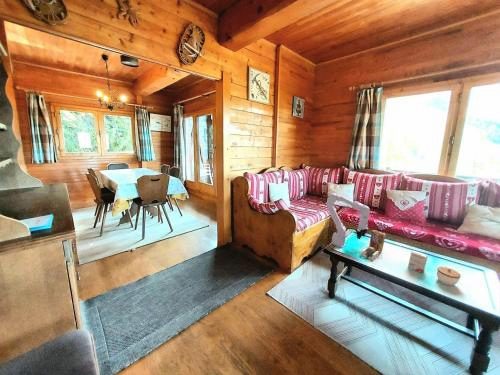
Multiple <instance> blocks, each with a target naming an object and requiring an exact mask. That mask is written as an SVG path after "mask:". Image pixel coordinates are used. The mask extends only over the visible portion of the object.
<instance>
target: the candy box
mask: <svg viewBox="0 0 500 375" xmlns="http://www.w3.org/2000/svg"><path fill="white" fill-rule="evenodd" d="M385 238H386V233H385V232H381V231H379V230H376V229H375V230H374V229H373V230H372V231H371V234H370V238H369V239H370V240H369V245H368V247H373V248H374V249H375V252H376V251H379V253H383V249H384V244H385Z"/></svg>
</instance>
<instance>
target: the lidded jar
mask: <svg viewBox="0 0 500 375" xmlns="http://www.w3.org/2000/svg"><path fill="white" fill-rule="evenodd" d="M436 276H437V279H438V280H439V282H440V283H441V284H444V285H446V286H449V287H450V286H451V285H452V286H454V285H456V284H457V283H459V281H460V279H461V276H462V275H461V274H460V272H458V271H456V270H455V269H453V268H449V267H446V266H438V267H437V271H436Z"/></svg>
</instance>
